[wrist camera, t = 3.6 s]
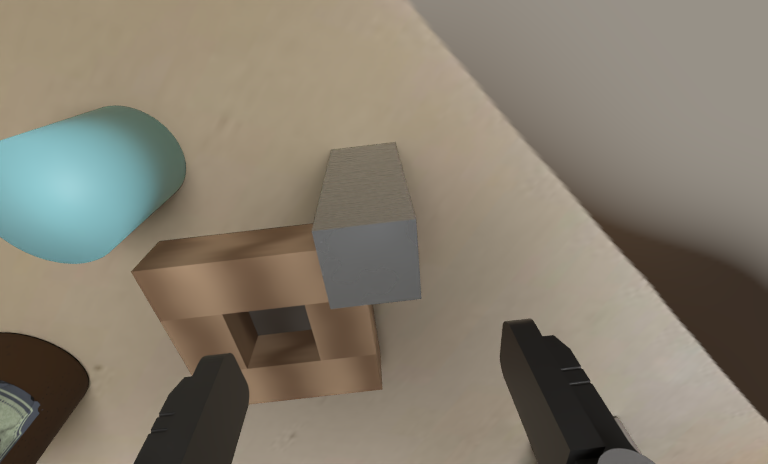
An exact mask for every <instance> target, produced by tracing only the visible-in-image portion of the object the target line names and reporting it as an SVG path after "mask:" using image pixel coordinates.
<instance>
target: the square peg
mask: <svg viewBox="0 0 768 464" xmlns="http://www.w3.org/2000/svg"><path fill="white" fill-rule="evenodd" d="M312 235H313V239H314V244H315V248H316V252H317V256H318V260H319V264H320V268H321V272H322V276H323V281H324V285H325V289H326V293H327V297H328V301H329V305H330V309H337V308H345V307H354V306H363V305H372V304H380V303H389V302H398V301H407V300H415V299H421V287H420V271H419V256H418V241H417V225H416V217H415V213H414V210H413V206H412V202H411V198H410V195H409V191H408V187H407V184H406V180H405V176H404V173H403V169H402V165H401V162H400V158H399V154H398V151H397V147H396V143H395V142H393V143H384V144H376V145H367V146H359V147H350V148H342V149H333V150H331V153H330V157H329V162H328V166H327V170H326V174H325V178H324V182H323V186H322V190H321V194H320V198H319V202H318V207H317V211H316V215H315V219H314V223H313V227H312Z"/></svg>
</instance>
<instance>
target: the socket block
mask: <svg viewBox="0 0 768 464" xmlns="http://www.w3.org/2000/svg"><path fill="white" fill-rule="evenodd" d="M312 227H313V224H305V225H296V226H287V227H279V228H270V229H262V230H253V231H245V232H236V233H227V234H219V235H210V236H202V237H193V238H184V239H176V240H167V241H159V242H158V243H157V244H156V245H155V247H154V248H153V249H152V250H151V251H150V252H149V253H148V254H147V255H146V256H145V257H144V258H143V259H142V261H141V262H140V263H139V264H138V265H137V266H136V267H135V268H134V269H133V270H132V271H131V273H132V274H133V276H134V278H135V279H136V281H137V283H138V285H139V286H140V288H141V290H142V291H143V293H144V295H145V296H146V298H147V300H148V301H149V303H150V305H151V307H152V308H153V310H154V312H155V313H156V315H157V317H158V318H159V320H160V322H161V324H162V325H163V327H164V329H165V330H166V332H167V334H168V335H169V337H170V339H171V341H172V342H173V344H174V346H175V347H176V349H177V351H178V352H179V354H180V356H181V358H182V359H183V361H184V363H185V364H186V366H187V368H188V369H189V371H190V373H191V374H192V375H193V373H194V371H195V369H196V367H197V365H198V363H199V361H200V359H201V358H202V357H204V356H207V355H216V354H224V353H232V354H233V355H234V357H235V359H236V361H237V363H238V365H239V367H240V369H241V371H242V373H243V375H244V377H245V379H246V382H247V384H248V387H249V404H257V403H265V402H274V401H283V400H292V399H301V398H310V397H319V396H328V395H337V394H346V393H354V392H363V391H372V390H381V389H382V375H381V356H380V349H379V343H378V336H377V330H376V324H375V318H374V311H373V305H363V306H354V307H345V308H337V309H330V305H329V301H328V297H327V293H326V289H325V285H324V281H323V276H322V272H321V268H320V264H319V260H318V256H317V252H316V248H315V244H314V239H313V235H312Z"/></svg>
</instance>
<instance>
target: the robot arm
mask: <svg viewBox="0 0 768 464" xmlns="http://www.w3.org/2000/svg"><path fill="white" fill-rule="evenodd" d="M500 363H501V369H502V373H503V376H504V379H505V381H506V384H507V386H508V389H509V391H510V394H511V396H512V399H513V401H514V404H515V406H516V409H517V411H518V414H519V416H520V419H521V421H522V424H523V426H524V429H525V431H526V434H527V436H528V439H529V441H530V444H531V446H532V449H533V451H534V454H535V457H536V459H537V463H538V464H655V463H654V462H653V461H651V460H650V459H648V458H647V457H645V456H643V455H642V453H641V452H640V450H639V449H638V447H637V446H636V444H635V443H634V441H633V440H632V438H631V436H630V435H629V433H628V432H627V430H626V429H625V427H624V426H623V424H622V423H621V421H620V419H619V418H618V417H616V418H614V417H613V416H612V414H611V413H610V411H609V409H608V408H607V406H606V405H605V403H604V402H603V400H602V398H601V397H600V395H599V394H598V392H597V391H596V389H595V387H594V386H593V384H591V383H590V380H589V378H588V376H587V375H586V373H585V372H584V370H583V369H581V365H580V364H579V362H578V361H577V359H576V358H575V356H574V354H573V353H572V351H571V350H570V348H568V347H567V346H566V345H565V344H563V343H562V342H561V341H560V340H559V339H557V338H556V337H555V336H554V335H551V336H542V335H541V333H540V331H539V330H538V328H537V326H536V324H535V323H534V321H533V320H532V319H522V320H514V321H505V322H504V323H503V329H502V339H501V350H500ZM248 404H249V387H248V384H247V382H246V379H245V377H244V375H243V373H242V371H241V369H240V367H239V365H238V363H237V361H236V359H235V357H234V355H233V354H232V353H224V354H216V355H207V356H204V357H202V358H201V359H200V361H199V363H198V365H197V367H196V369H195V371H194V373H193V375H192V377H184V379H183V380H182V381H181V382H180V383H179V384H178V385H177V386H176V387H175V388H174V390H173V391H172V392H171V393H170V394H169V396H168V398H167V399H166V401H165V403H164V405H163V407H162V409H161V411H160V413H159V418H157V419H156V421H155V423H154V425H153V427H152V429H151V434H149V435H148V437H147V439H146V440H145V442H144V444H143V446H142V448H141V450H140V452H139V454H138V456H137V458H136V460H135V462H134V464H231V463H232V460H233V456H234V453H235V449H236V446H237V443H238V439H239V436H240V432H241V429H242V425H243V422H244V419H245V415H246V412H247V408H248Z"/></svg>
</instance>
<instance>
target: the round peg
mask: <svg viewBox="0 0 768 464" xmlns="http://www.w3.org/2000/svg"><path fill="white" fill-rule="evenodd" d="M185 174H186V163H185V158H184V155H183V152H182V149H181V147H180V145H179V143H178V142H177V140H176V139H175V137H174V136H173V135H172V134H171V132H170V131H169V130H168V129H167V128H166V127H165V126H164V125H162V124H161V123H160V122H159V121H157V120H156V119H155V118H153V117H151V116H150V115H148V114H146V113H144V112H142V111H139V110H137V109H133V108H130V107H125V106H107V107H102V108H99V109H96V110H93V111H90V112H87V113H84V114H80V115H77V116H74V117H71V118H68V119H65V120H62V121H59V122H56V123H53V124H50V125H47V126H44V127H40V128H37V129H34V130H31V131H28V132H25V133H22V134H19V135H16V136H13V137H10V138H7V139H4V140H1V141H0V237H1V238H3V239H4V240H5V241H7V242H8V243H10V244H11V245H13V246H15V247H17V248H18V249H20V250H22V251H24V252H26V253H29V254H31V255H34V256H36V257H39V258H42V259H45V260H49V261H54V262H59V263H69V264H78V263H86V262H91V261H94V260H98V259H100V258H102V257H104V256H105V255H106V254H108V253H109V252H110V251H111V250H113V249H114V248H115V247H116V246H117V245H118V244H119V243H120V242H121V241H122V240H124V239H125V238H126V237H127V236H128V235H129V234H130V233H131V232H132V231H133V230H135V229H136V228H137V227H138V226H139V225H140V224H141V223H142V222H143V221H144V220H146V219H147V218H148V217H149V216H150V215H151V214H152V213H153V212H154V211H155V210H157V209H158V208H159V207H160V206H161V205H162V204H163V203H164V202H165V201H167V200H168V199H169V198H170V197H171V196H172V195H173V194H174V193H175V192H176V191H177V190H178V189H179V188H180V187H181V185H182V183H183V181H184V178H185Z"/></svg>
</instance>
